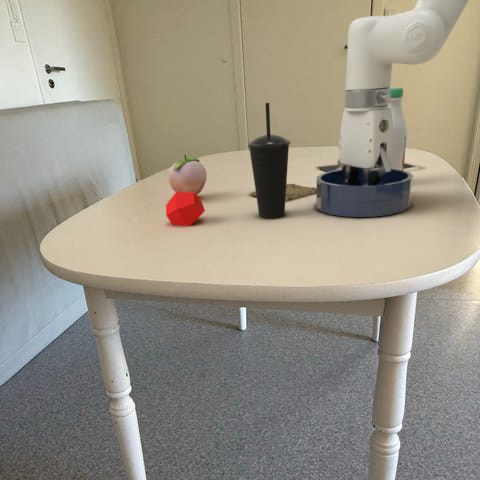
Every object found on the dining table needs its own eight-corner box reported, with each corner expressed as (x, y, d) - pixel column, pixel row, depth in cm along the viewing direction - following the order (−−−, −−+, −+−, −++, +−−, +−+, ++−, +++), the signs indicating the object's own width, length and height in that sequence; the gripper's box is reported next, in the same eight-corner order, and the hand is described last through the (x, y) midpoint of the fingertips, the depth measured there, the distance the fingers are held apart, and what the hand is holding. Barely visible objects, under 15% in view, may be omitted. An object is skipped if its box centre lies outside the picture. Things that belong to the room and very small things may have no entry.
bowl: (366, 192, 98) (367, 164, 95) (429, 208, 84) (433, 175, 81) (299, 207, 91) (298, 177, 89) (356, 226, 77) (357, 191, 75)
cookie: (287, 185, 109) (287, 181, 109) (323, 192, 100) (323, 188, 100) (248, 195, 103) (248, 191, 103) (282, 203, 94) (282, 198, 94)
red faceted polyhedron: (152, 200, 82) (189, 183, 79) (168, 198, 88) (202, 182, 86) (167, 235, 84) (203, 220, 81) (181, 231, 90) (216, 217, 87)
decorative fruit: (183, 194, 110) (177, 151, 105) (213, 195, 107) (209, 151, 102) (164, 204, 102) (157, 158, 97) (196, 205, 99) (190, 158, 94)
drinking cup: (256, 224, 82) (249, 105, 73) (249, 214, 89) (242, 104, 80) (296, 220, 83) (294, 101, 74) (286, 210, 90) (283, 100, 80)
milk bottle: (397, 191, 97) (407, 88, 87) (362, 190, 100) (367, 90, 91) (405, 184, 102) (415, 86, 93) (371, 182, 106) (377, 88, 96)
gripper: (418, 99, 74) (405, 209, 82) (352, 98, 87) (348, 193, 96) (383, 103, 71) (374, 216, 80) (321, 101, 84) (319, 199, 93)
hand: (360, 203), depth 88 cm, fingers open, 3 cm apart
